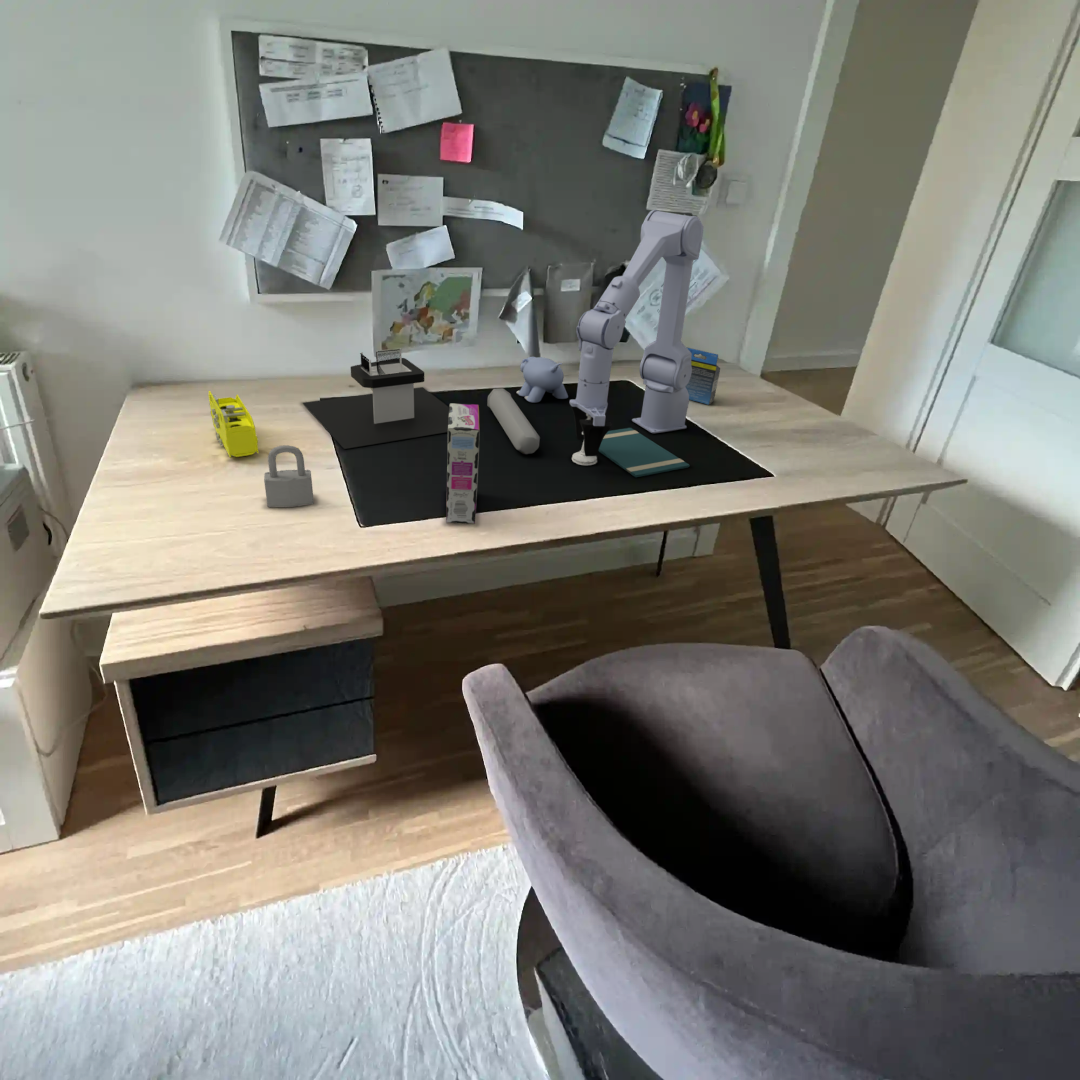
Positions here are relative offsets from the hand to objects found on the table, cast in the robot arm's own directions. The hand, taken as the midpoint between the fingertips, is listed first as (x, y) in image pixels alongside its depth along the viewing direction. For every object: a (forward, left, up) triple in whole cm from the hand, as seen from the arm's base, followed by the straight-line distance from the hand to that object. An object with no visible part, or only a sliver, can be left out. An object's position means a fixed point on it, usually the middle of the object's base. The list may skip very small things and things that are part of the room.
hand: (586, 447), depth 139 cm
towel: (-11, 0, -3) cm, 12 cm away
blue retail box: (-45, -21, -3) cm, 50 cm away
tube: (+7, -17, -3) cm, 19 cm away
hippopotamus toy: (-10, -36, -3) cm, 37 cm away
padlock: (+55, -3, -3) cm, 55 cm away
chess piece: (0, 0, -3) cm, 3 cm away
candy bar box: (+30, +9, -3) cm, 31 cm away
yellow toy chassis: (+59, -30, -3) cm, 66 cm away
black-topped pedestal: (+28, -34, -3) cm, 44 cm away
